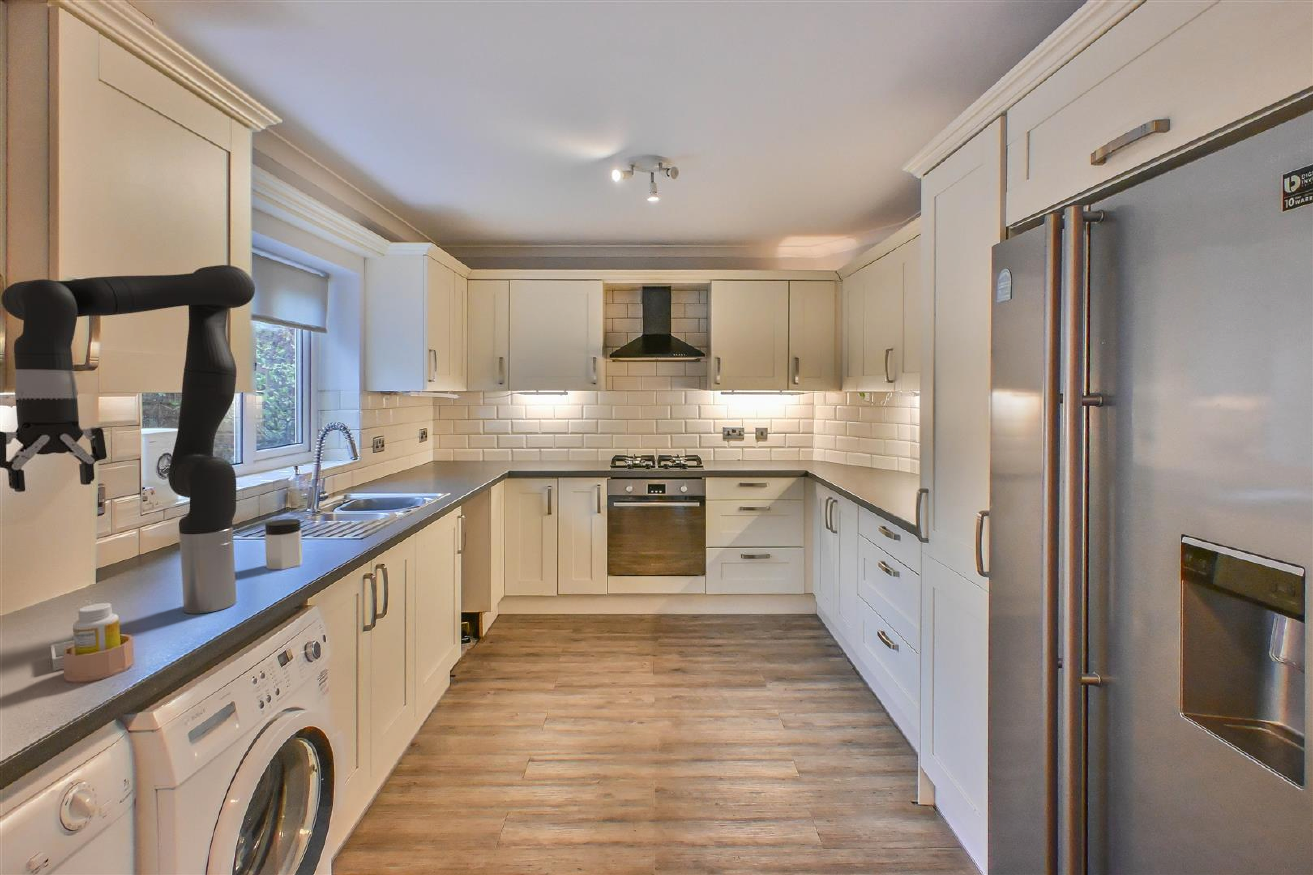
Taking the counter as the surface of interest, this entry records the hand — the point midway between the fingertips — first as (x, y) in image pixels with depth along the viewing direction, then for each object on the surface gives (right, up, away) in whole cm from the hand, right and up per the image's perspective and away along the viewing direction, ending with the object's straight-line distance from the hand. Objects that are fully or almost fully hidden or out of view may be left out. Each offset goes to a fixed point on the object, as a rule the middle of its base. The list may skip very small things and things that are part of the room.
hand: (53, 487), depth 103 cm
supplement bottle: (+13, -30, -5) cm, 33 cm away
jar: (+5, -26, +56) cm, 62 cm away
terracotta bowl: (+13, -31, -5) cm, 34 cm away
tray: (+5, -30, +1) cm, 31 cm away
